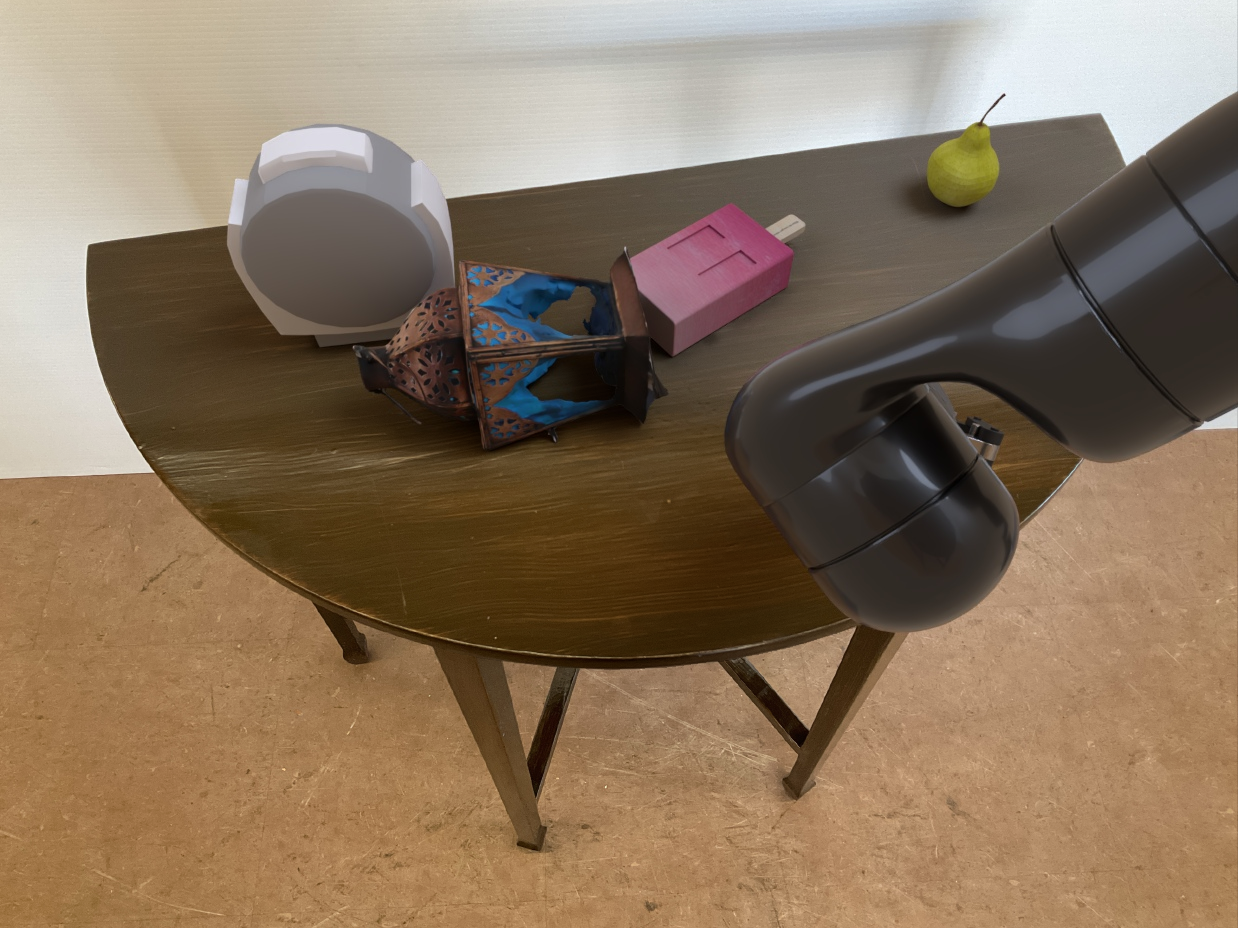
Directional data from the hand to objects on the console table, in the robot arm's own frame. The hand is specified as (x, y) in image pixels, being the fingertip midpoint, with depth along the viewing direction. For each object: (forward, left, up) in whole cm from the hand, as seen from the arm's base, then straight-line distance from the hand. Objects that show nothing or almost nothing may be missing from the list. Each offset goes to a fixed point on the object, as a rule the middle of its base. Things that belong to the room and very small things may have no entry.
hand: (884, 403), depth 61 cm
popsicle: (+25, -8, -13) cm, 29 cm away
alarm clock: (+42, +22, -13) cm, 49 cm away
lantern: (+26, +16, -13) cm, 33 cm away
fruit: (+19, -35, -13) cm, 42 cm away
